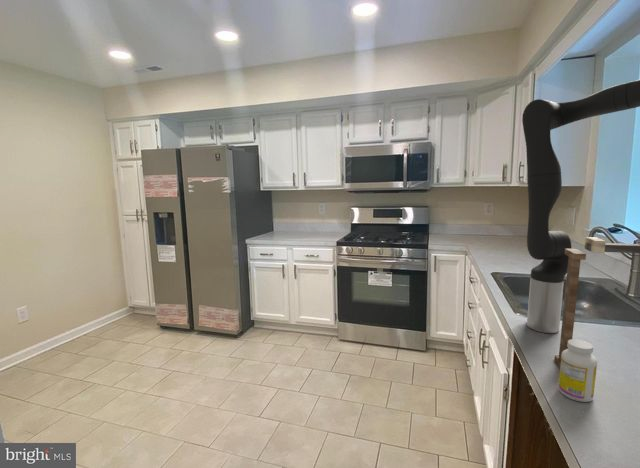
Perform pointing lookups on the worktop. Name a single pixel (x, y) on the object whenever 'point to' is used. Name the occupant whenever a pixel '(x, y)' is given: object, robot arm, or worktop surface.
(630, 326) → the worktop surface
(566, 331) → the walnut stand
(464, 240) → the worktop surface
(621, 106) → the robot arm
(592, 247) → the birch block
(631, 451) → the worktop surface
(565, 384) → the supplement bottle
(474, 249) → the worktop surface
